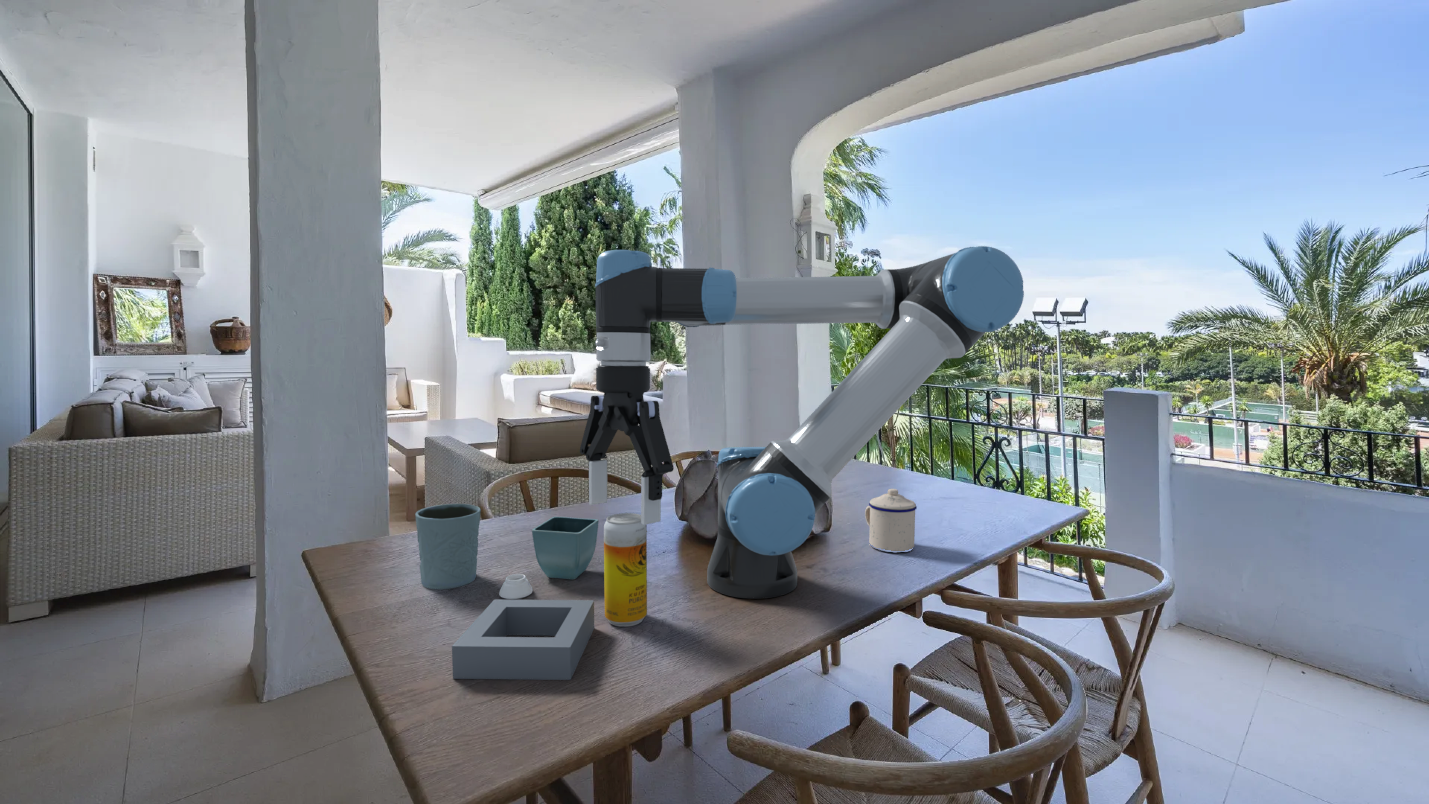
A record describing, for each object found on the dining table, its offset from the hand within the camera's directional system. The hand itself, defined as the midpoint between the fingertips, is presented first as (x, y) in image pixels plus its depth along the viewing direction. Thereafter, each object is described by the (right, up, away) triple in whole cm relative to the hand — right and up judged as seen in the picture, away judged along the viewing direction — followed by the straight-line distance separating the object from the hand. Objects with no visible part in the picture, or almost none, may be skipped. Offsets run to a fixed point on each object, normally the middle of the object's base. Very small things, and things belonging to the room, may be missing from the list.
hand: (623, 512), depth 90 cm
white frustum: (-19, -15, +11) cm, 26 cm away
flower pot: (-13, -14, +19) cm, 27 cm away
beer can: (0, -16, +1) cm, 16 cm away
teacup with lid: (+48, -13, +37) cm, 62 cm away
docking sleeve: (-11, -16, -9) cm, 21 cm away
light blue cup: (-32, -15, +17) cm, 39 cm away
